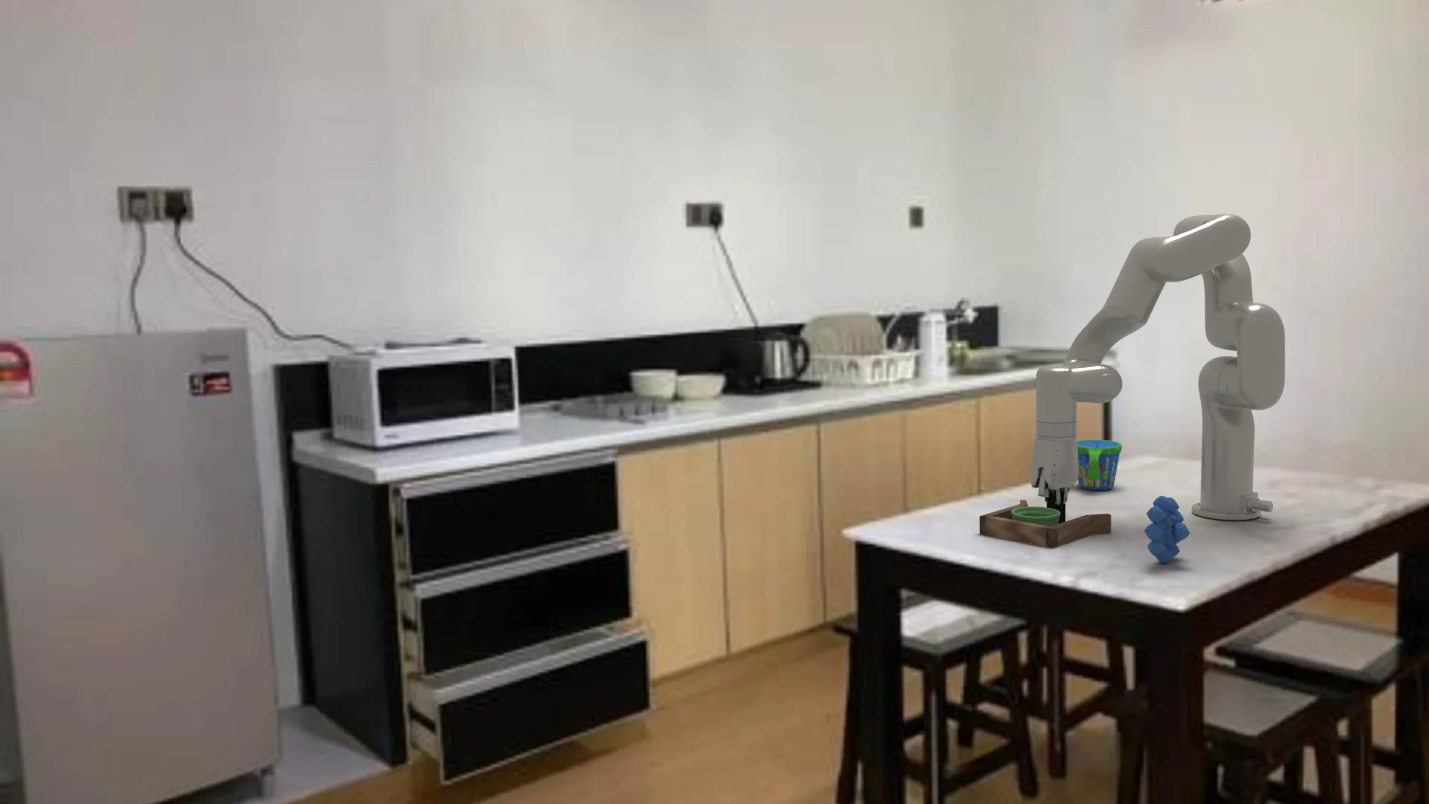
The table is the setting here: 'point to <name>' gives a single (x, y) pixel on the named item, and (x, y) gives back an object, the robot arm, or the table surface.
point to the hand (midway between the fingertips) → (1056, 522)
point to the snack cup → (1097, 463)
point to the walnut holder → (1042, 528)
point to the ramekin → (1036, 515)
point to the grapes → (1165, 529)
